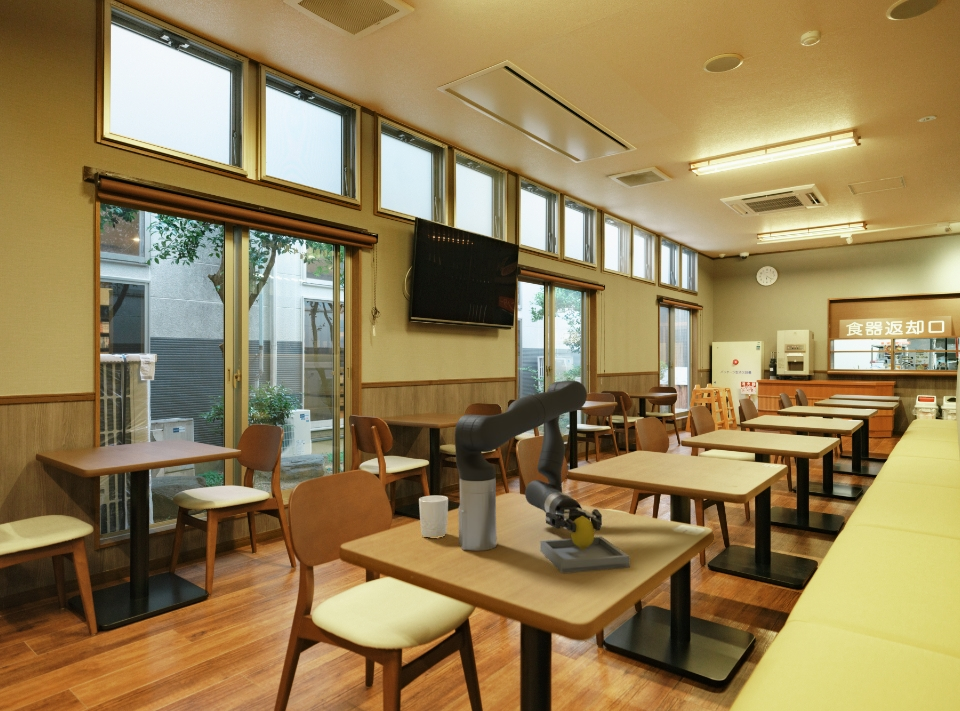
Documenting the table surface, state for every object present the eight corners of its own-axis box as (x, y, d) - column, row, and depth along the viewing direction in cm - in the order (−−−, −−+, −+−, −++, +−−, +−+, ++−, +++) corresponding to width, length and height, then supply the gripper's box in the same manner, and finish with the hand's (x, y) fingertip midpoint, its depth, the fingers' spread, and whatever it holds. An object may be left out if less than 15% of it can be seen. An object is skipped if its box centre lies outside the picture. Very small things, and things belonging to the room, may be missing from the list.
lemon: (568, 552, 138) (568, 518, 138) (573, 545, 144) (572, 512, 144) (592, 554, 136) (592, 520, 136) (596, 547, 142) (595, 513, 142)
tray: (561, 573, 130) (561, 561, 131) (540, 551, 146) (540, 540, 146) (629, 567, 134) (629, 556, 134) (601, 546, 149) (601, 536, 149)
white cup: (435, 541, 156) (434, 503, 156) (413, 536, 160) (412, 499, 161) (454, 534, 162) (453, 497, 162) (432, 529, 167) (432, 494, 167)
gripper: (535, 496, 153) (556, 512, 136) (588, 493, 156) (615, 509, 139) (536, 525, 153) (557, 545, 136) (588, 521, 155) (615, 541, 139)
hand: (586, 527), depth 138 cm, fingers closed on lemon, 5 cm apart
